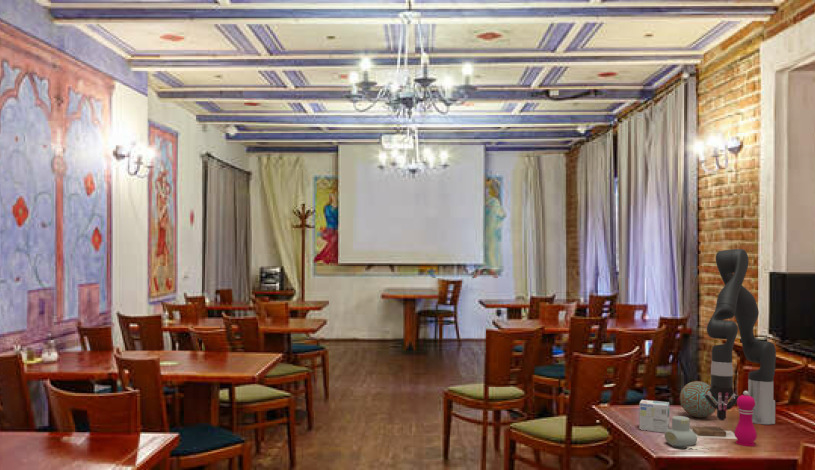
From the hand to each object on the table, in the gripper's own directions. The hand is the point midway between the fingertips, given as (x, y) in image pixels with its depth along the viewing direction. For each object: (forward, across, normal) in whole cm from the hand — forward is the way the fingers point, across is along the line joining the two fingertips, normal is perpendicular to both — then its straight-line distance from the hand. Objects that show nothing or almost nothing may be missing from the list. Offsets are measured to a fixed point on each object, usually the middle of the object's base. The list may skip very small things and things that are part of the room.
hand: (721, 419), depth 270 cm
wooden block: (+4, -1, 0) cm, 4 cm away
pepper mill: (+7, -4, +12) cm, 15 cm away
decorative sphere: (+7, -2, -33) cm, 34 cm away
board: (+7, +4, 0) cm, 8 cm away
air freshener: (+7, +18, +14) cm, 24 cm away
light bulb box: (+7, +22, -8) cm, 25 cm away
